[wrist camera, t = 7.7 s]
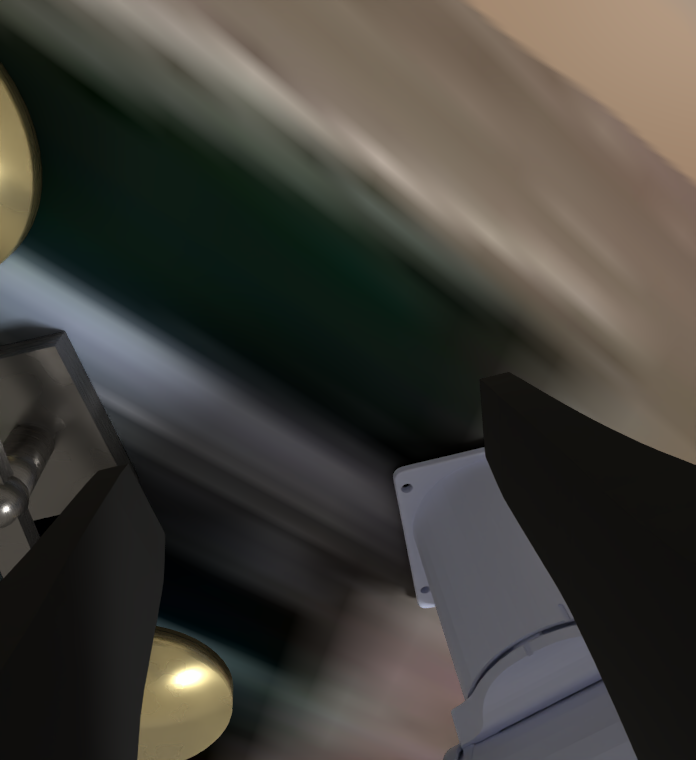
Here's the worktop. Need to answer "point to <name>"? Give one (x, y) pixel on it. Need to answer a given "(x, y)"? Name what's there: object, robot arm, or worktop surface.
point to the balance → (80, 466)
